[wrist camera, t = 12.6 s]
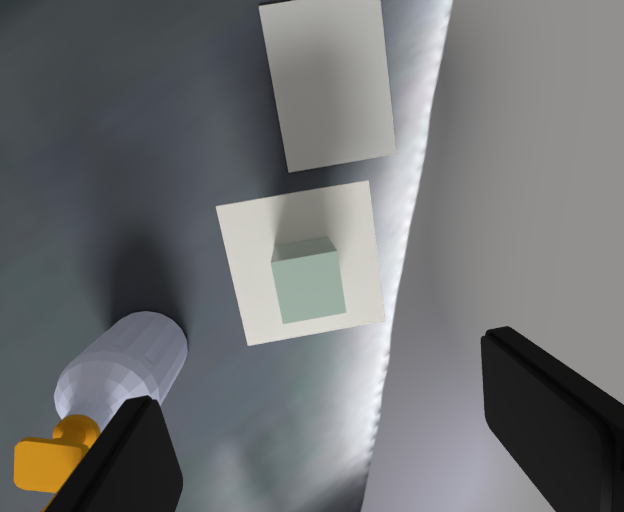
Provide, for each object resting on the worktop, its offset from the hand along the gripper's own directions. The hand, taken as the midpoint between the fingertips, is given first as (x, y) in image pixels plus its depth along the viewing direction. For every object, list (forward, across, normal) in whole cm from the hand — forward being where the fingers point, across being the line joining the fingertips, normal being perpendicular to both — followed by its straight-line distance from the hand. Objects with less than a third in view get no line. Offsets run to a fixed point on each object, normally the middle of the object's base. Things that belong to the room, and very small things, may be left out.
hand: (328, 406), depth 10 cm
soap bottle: (+30, +20, +10) cm, 38 cm away
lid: (+17, 0, 0) cm, 17 cm away
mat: (+30, -6, -15) cm, 34 cm away
